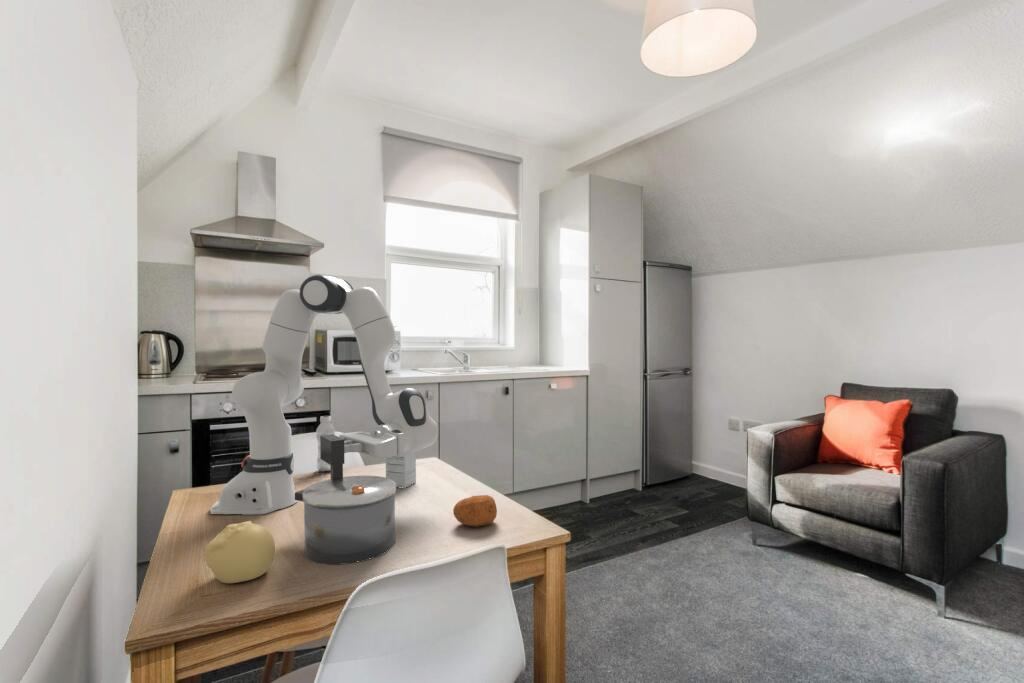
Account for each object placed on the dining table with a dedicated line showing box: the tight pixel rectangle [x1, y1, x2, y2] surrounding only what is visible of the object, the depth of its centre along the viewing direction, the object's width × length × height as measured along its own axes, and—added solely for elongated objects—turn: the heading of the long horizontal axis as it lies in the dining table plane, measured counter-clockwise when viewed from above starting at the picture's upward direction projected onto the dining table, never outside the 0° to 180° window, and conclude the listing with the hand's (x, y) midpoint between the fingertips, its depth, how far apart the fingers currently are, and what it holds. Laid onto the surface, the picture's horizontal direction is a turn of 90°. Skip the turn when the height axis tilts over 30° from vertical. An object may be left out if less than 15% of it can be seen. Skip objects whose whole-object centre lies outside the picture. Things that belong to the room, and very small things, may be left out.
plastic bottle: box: [315, 415, 336, 472], centre depth 182 cm, size 6×7×20 cm
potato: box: [453, 494, 498, 528], centre depth 128 cm, size 9×11×8 cm
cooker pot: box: [295, 488, 396, 565], centre depth 117 cm, size 27×20×12 cm
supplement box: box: [385, 451, 417, 489], centre depth 164 cm, size 7×7×13 cm
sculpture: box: [204, 520, 276, 584], centre depth 101 cm, size 12×12×11 cm
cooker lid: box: [302, 434, 397, 508], centre depth 119 cm, size 28×21×11 cm
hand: (339, 448), depth 128 cm, fingers closed
